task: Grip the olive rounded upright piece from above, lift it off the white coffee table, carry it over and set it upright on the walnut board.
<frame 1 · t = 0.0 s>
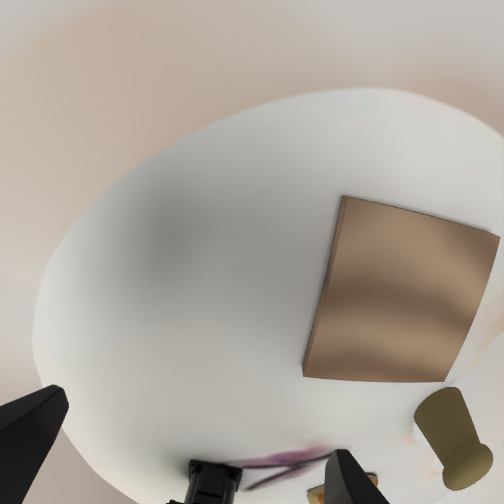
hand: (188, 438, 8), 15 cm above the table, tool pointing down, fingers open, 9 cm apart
pastry: (339, 485, 30), on the table
olive rounded upright piece: (437, 406, 25), on the table
walnut board: (404, 301, 21), on the table
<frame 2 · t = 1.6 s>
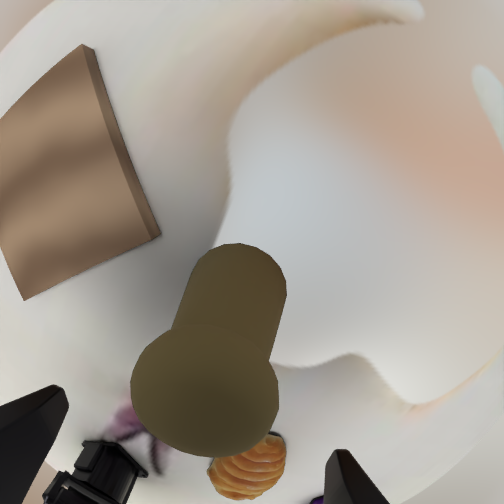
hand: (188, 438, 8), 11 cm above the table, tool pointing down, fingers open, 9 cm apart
pastry: (247, 455, 24), on the table
potion bottle: (330, 500, 26), on the table
olive rounded upright piece: (237, 289, 19), on the table
walnut board: (48, 181, 17), on the table
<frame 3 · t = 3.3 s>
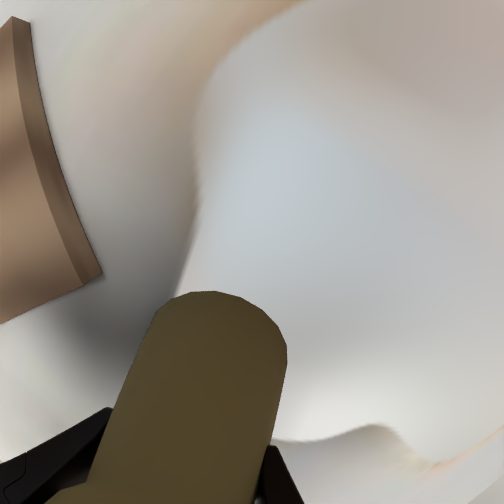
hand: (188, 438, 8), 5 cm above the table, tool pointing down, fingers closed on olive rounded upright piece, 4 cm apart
olive rounded upright piece: (215, 353, 12), on the table, touching gripper
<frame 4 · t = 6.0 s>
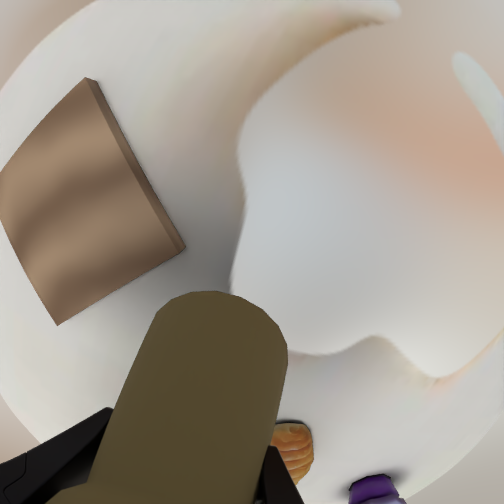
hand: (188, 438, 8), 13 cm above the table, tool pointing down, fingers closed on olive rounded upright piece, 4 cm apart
pastry: (277, 447, 25), on the table
potion bottle: (369, 483, 27), on the table
olive rounded upright piece: (216, 353, 12), point 8 cm above the table, touching gripper
walnut board: (69, 210, 20), on the table
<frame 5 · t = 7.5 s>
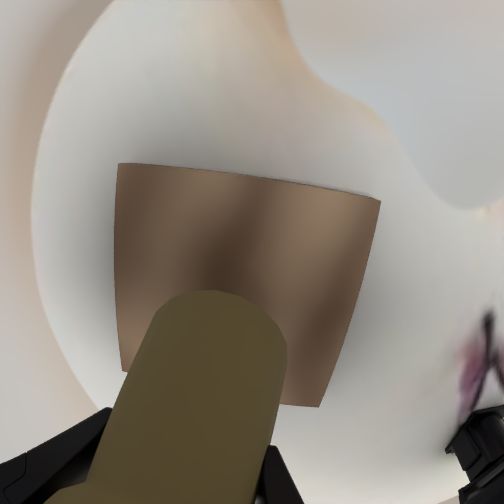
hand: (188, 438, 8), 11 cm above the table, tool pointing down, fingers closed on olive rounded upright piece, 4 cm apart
olive rounded upright piece: (215, 352, 12), point 6 cm above the table, touching gripper
walnut board: (231, 294, 18), on the table
when the fingers open (7 cm above the table, at t = 8.9 s): olive rounded upright piece stays where it is, resting on walnut board.
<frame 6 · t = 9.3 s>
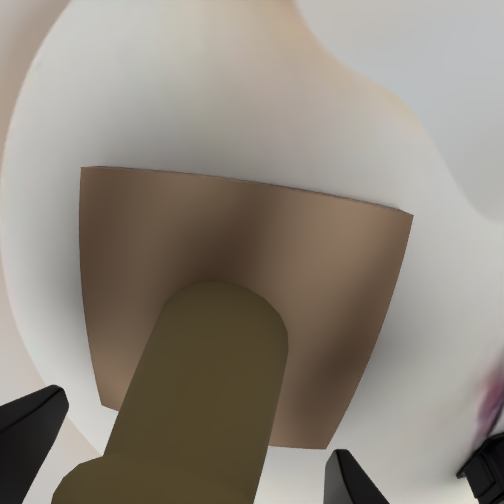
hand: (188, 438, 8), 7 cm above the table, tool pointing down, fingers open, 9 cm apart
olive rounded upright piece: (221, 341, 13), point 1 cm above the table, touching walnut board
walnut board: (223, 327, 14), on the table
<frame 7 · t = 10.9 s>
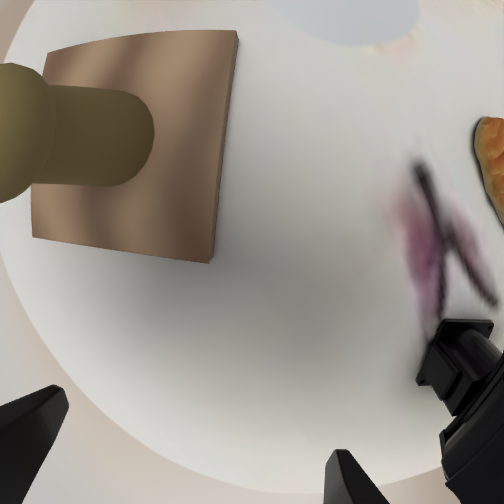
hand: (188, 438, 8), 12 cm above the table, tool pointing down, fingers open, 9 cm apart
olive rounded upright piece: (111, 138, 16), point 1 cm above the table, touching walnut board
walnut board: (119, 139, 17), on the table
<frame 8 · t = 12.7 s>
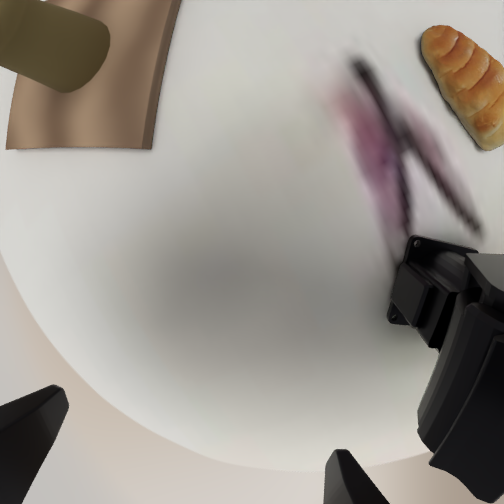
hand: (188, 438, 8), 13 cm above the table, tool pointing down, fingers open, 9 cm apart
pastry: (466, 92, 15), on the table
olive rounded upright piece: (77, 55, 15), point 1 cm above the table, touching walnut board
walnut board: (86, 60, 16), on the table
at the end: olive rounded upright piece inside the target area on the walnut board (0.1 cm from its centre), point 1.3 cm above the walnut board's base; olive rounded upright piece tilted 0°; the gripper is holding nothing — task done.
